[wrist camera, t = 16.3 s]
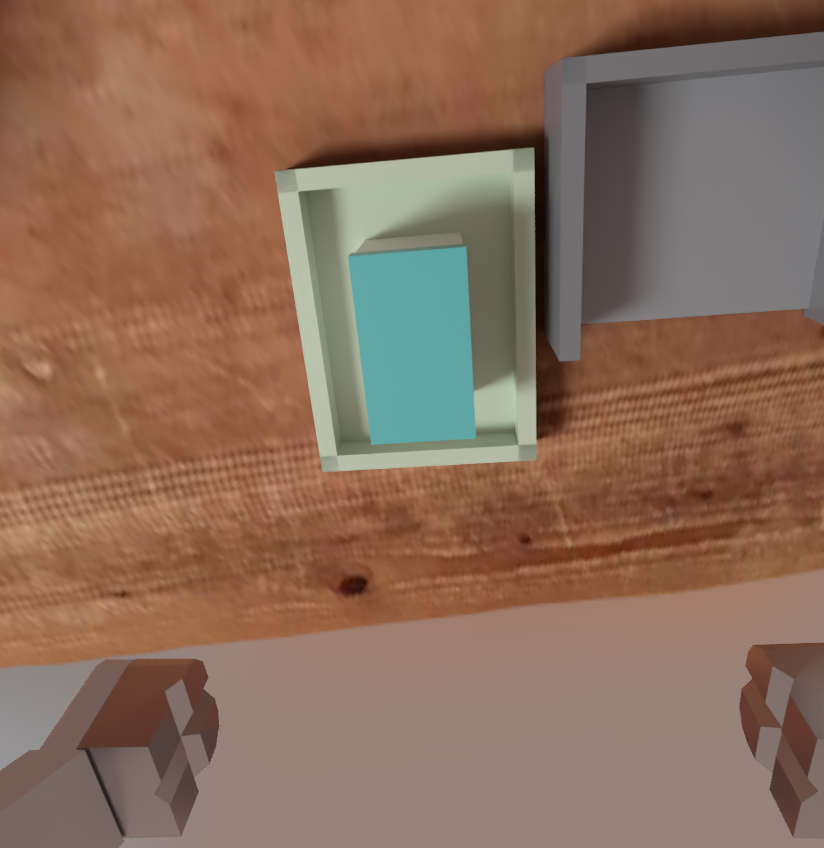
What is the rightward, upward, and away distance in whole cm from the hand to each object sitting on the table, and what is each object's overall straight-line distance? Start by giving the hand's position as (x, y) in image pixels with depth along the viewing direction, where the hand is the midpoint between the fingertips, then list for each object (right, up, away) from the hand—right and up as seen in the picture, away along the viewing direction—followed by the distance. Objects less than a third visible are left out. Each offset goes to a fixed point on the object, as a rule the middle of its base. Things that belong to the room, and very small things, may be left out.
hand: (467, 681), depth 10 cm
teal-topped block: (0, +10, +25) cm, 27 cm away
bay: (+14, +15, +23) cm, 31 cm away
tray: (0, +10, +26) cm, 28 cm away
